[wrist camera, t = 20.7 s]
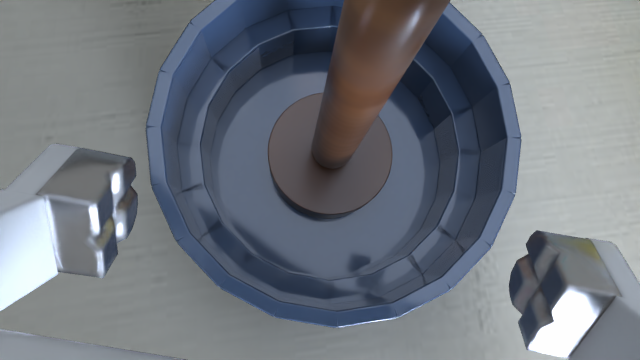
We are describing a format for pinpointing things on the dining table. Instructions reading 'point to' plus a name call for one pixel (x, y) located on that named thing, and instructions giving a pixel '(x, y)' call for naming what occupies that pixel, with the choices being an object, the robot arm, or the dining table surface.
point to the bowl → (367, 222)
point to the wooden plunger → (349, 110)
